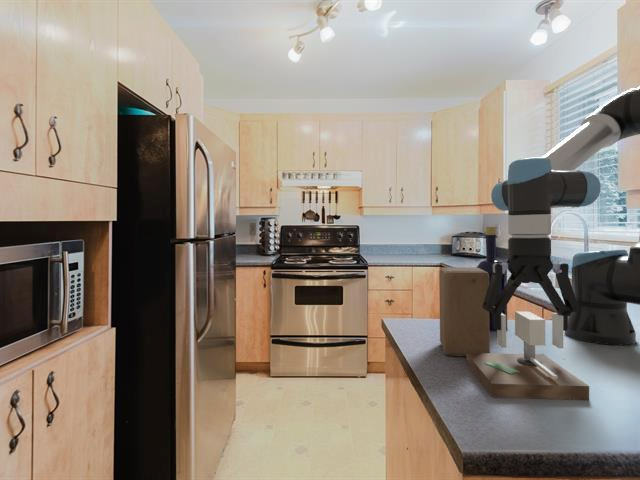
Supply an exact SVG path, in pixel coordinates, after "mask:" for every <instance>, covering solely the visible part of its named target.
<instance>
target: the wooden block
mask: <svg viewBox="0 0 640 480" xmlns="http://www.w3.org/2000/svg"><path fill="white" fill-rule="evenodd" d="M438 272H439V276H438V277H439V282H438V283H439V290H438V291H439V341H440V345H441V347H442V350H443V352H444V354H445V355H446V356H450V357H466V353H491V352H490V351H491V350H490V345H491V343H490V340H491V339H490V331H489V311H487V310H485V309H484V308H483V303H484V299H485V296H486V293H487V290H488V286H489V274H488V272H486V271H484V270H482V269H480V268H477V266H472V267H471V266H469V267H467V266H466V267H459V266H457V267H455V266H454V267H449V266H448V267H447V266H444V267H441V268H440V269H439V271H438Z"/></svg>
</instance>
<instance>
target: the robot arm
mask: <svg viewBox="0 0 640 480" xmlns="http://www.w3.org/2000/svg"><path fill="white" fill-rule="evenodd" d="M639 135H640V86H638V87H634V88H630V89H628V90H626V91H624V92H622V93H621V94H619V95H617V96H615V97H613V98H612V99H611V100H609V101H608V102H605V104H603V105H602V106H600V107H599V108H597V109H596V110H595V111H594V112H592V113H590V114H589V115H588V116H587V117H586V118H584V120H582V122H581V123H580V127H579V128H577V129H576V130H575V131H574V132H572V133H571V134H570V135H568V136H567V137H566V138H565V139H563V140H562V141H560V142H559V143H558V144H556V145H555V146H554V147H553V148H551V149H550V150H549V151H547V152H546V153H545V154H544V155H542V156H539V157H526V158H520V159H517V160H514V161H512V162H510V164H509V165H508V170H507V179H506V180H503V181H501V182H498V183H496V184H495V185H494V187H492V189H491V193H490V194H491V196H490V197H491V202H492V204H493V205H494V207H495V208H496V209H498V210H499V211H506V212H507V211H508V212H507V214H508V215H507V218H508V219H507V225H508V226H507V228H508V229H507V233H508V235H509V236H511V237H509V239H507V253H508V255H507V257H508V259H507V261H506V262H505V263H504V262H502V264H498V263H493V264H492V276H491V280H490V283H489V286H488V290H487V293H486V296H485V299H484V303H483V308H484V309H485V310H487V311H489V312H492V325H493V328H494V329H495V330H497V333H496V337H497V339H496V341H497V342H496V343H497V344H498V345H499V346H500V347H501V348H507V331H506V315H504V314H503V313H502V312H503V310H504V309H505V307H506V305H507V306H508V304H509V302H510V301H511V299H512V298H513V296H514V294H515V293H516V291H517V289H518V288H519V287H520V286H521V284H529V283H534V284H539V285H540V287H541V288H542V290H543V292H544V294H545V295H546V297H547V298H548V300H549V301H550V302H551V304H552V305H553V308H554V309H555V310H556V312H552V313H551V314H552V315H551V319H552V320H551V325H552V327H551V338H552V341H551V344H552V345H553V346H555V347H556V348H558V349H564V334H565V335H567V336H568V337H569V338H570V337H571V338H573V339H576V340H580V341H584V342H588V343H595V344H600V345H602V344H603V345H610V346H611V345H614V346H625V345H627V346H628V345H631V344H635V343H636V339H637V335H636V334H637V333H636V331H635V328H634V325H633V323H632V320H631V317H630V316H629V312H628V306H627V304H632V305H637V306H638V305H639V306H640V235H639V237H638V238H639V239H638V241H637V242H635V244H633V245H631V246H630V247H629V253H628V251H627V249H611V250H610V249H609V250H608V249H607V250H594V251H581V252H577V253H575V254H574V255H573V256H572V263H571V264H572V265H571V268H570V266H569V264H568V263H565V262H560V261H559V262H553V261H552V259H551V257H552V239H551V238H550V237H548V236H549V235H551V234H552V209H554V208H555V209H558V208H573V209H575V208H579V207H588V206H590V205H592V204H593V203H595V202H596V200H597V199H598V198H599V196H600V194H601V181H600V179H599V178H598V177H597V175H595V174H594V173H592V172H589V171H583V170H579V169H578V168H579V167H580V166H582V165H583V164H584V163H585V162H587V161H588V160H589V159H591V158H592V157H593V156H594V155H596V154H597V153H598V152H599V151H601V150H602V149H605V148H610V147H612V146H614V144H616V143H618V141H621V140H623V139H627V138H631V137H634V136H639ZM506 269H507V271H508V272H509V273H510V275H509V278H507V284H506V286H505V287H504V289H503V291H502V292H501V294H500V295H499V297H498V299H497V300H496V297H497V293H498V290H499V287H500V284H501V280H502V276H503V274H504V273H505V270H506ZM569 269H571V280H570V277H569ZM551 271H553V272H554V274H555V278H556V281H557V284H558V288H559V290H560V291H559V292H560V294H561V296H560V295H559V293H558V291H557V290H556V288H555V287H554V285H553V282H552V281H551V279H550V277H549V276H548V275H549V273H550V272H551ZM561 297H562V298H561ZM495 300H496V302H495ZM494 303H495V304H494Z"/></svg>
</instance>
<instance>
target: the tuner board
mask: <svg viewBox="0 0 640 480" xmlns="http://www.w3.org/2000/svg"><path fill="white" fill-rule="evenodd" d="M465 357H466V365H467V366H468V368H469V369H470V371H471V372H472V373H473V374H474V376H475V377H476V378H477V380H478V381H479V382H480V383H481V385H483V387H484V389H485V390H486V391H487V392H488V393H489V394H490V397H492V398H511V399H512V398H515V399H545V400H546V399H547V400H549V399H550V400H551V399H552V400H577V401H578V400H581V401H582V400H583V401H589V400H590V386H589V384H587V383H585V382H584V381H583V380H581V379H580V378H579V377H577V376H576V375H574V374H572V373H571V372H570V371H568V370H567V369H565V368H564V367H562V366H561V365H560V364H558V363H557V362H555V361H554V360H552V358H550V357H548V356H547V355H545V354H543V353H535V359H536V360H537V361H538V362H540V363H541V364H542V365H544V366H545V367H546V368H547V369H549V370H550V371H551V372H553V373H554V374H555V375H557V379H553V378H552V377H550V376H549V375H548V374H547V373H545V372H544V371H543V370H541V369H540V368H539V367H538V366H536V365H535V364H534V363H533V362H531V361H530V360H526V359H524V353H491V352H490V353H466V356H465Z"/></svg>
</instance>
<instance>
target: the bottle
mask: <svg viewBox="0 0 640 480" xmlns="http://www.w3.org/2000/svg"><path fill="white" fill-rule="evenodd" d="M484 238H485V245H486V248H485V249H486V250H485V251H486V259H484V260H481V261H480V262H479V263H478V265H477V266H476V267H477V268H480V269H482V270H484V271H486V272H488V274H489V283H490V280H491V276H492V264H493V263H498V264H502V263H503V262H502V261H500V260H497V259H496V257H497V255H496V252H497V251H496V249H497V246H496V245H497V238H498V236H497V226H486V227H485V235H484ZM507 281H508V269H506V270H505V273H504V274H503V276H502V280H501V284H500V287H499V290H498V293H497V297H496V300H497V299H498V297H499V295H500V294H501V292H502V291H503V289H504V287H505V286H506V284H507ZM496 300H495V302H496ZM494 304H495V303H494ZM502 313H503V314H504V315H506V330H507V329H508V304H507V305H506V307H505V309H504V310H503V312H502ZM507 331H508V330H507ZM489 332H497V330H495V329H494V328H493V325H492V312H489Z"/></svg>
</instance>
